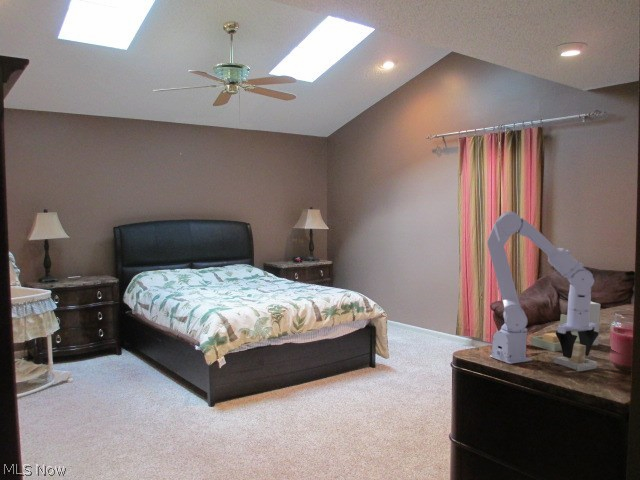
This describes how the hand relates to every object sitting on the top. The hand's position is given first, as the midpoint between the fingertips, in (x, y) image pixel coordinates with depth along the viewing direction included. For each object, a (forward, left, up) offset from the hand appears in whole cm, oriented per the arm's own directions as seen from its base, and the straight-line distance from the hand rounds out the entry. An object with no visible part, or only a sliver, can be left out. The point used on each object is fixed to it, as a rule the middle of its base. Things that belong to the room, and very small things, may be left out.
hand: (575, 356), depth 143 cm
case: (+14, +17, -3) cm, 22 cm away
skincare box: (+27, +17, -3) cm, 32 cm away
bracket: (0, 0, -3) cm, 3 cm away
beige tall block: (0, 0, -3) cm, 3 cm away
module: (+12, +17, -2) cm, 21 cm away
